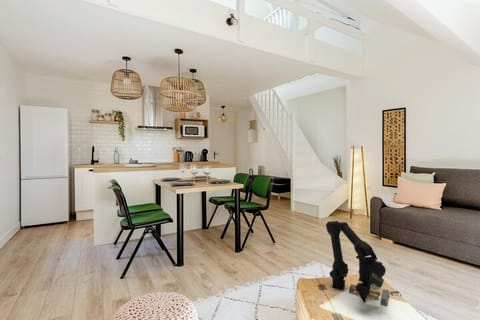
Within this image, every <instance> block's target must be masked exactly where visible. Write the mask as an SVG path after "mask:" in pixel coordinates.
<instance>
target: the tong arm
mask: <svg viewBox="0 0 480 320" xmlns="http://www.w3.org/2000/svg"><path fill="white" fill-rule="evenodd" d="M349 289H353V290H356V288H355V287H352V286H350V285H349V287H348V290H349ZM355 295H356V296H360V295H359V293H358V291H357V290H356V291H355ZM366 299H372V300H376V301H379V300H380V297H379V295H377V294H373V293H369V295H367V298H366Z"/></svg>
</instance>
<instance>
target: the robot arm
mask: <svg viewBox="0 0 480 320" xmlns="http://www.w3.org/2000/svg"><path fill="white" fill-rule="evenodd" d="M325 226H326V227H325V228H326V232H327V234H328V235H329V236H330V240H331V248H332V252H333V259H334V260H333V263H332V270H331V271H329V276H330V278H332V285H331V288H332V289H335V290H340V291H344V289H345V288H346V279H345V278H347V276H348V274H349V267H348V265H349V264H348V263H346V262H345V261H344V258H343V257H344V256H343V252H342V245H341V239H340V234H341V233H343V235H345V237H346V238H347V239H348V240H349V241H350V242H351V244H352V246H353V248H354V251H355V253H356V254H357V255H356V256H355V258H356V259H357V260H358V271H357V272H358V274H359V277H358V281H359V282H358V283H357V284H355V285H356V290H357V291H358V293H359V295H360V298H361V300H362V302H363V303H366V302H367V299H368V298H367V295H369V293H370V285H371V284H375V285H376V286H378V289H379V288H380V289H381V288H382V287H383V285H384V282H385V279H384V278H383V277H384V276H385V275H386V272H387V271H386V267H385V266H384V265H383V262H381V261H378V258H377V255H376V254H375V252H374V251H375V250H374V249H373V247H372V246H371V244H369V243H367V241H364V240H362V239H361V238H360V237H359V236H358V234H357V233H356V232H355V231H354V230H353V229H352V228H351V226H349V224H348V222H345V221H342V222H341V221H338V220H332V221H327V222H326V224H325ZM374 274H375V275H374ZM359 295H358V296H359Z"/></svg>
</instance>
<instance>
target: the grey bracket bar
mask: <svg viewBox="0 0 480 320" xmlns="http://www.w3.org/2000/svg"><path fill="white" fill-rule="evenodd" d="M381 291H382V292H381V294H380V306H384V307H388V300H389V299H388V298H390V290H389V289H385V288H384V289H382V290H381Z"/></svg>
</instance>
